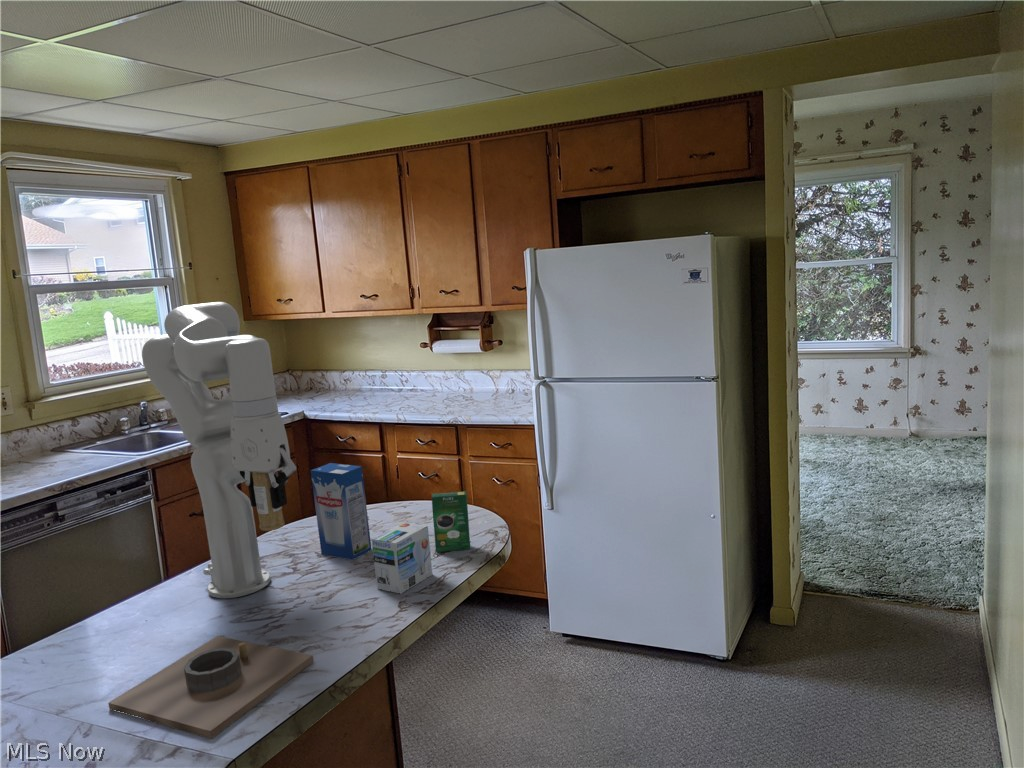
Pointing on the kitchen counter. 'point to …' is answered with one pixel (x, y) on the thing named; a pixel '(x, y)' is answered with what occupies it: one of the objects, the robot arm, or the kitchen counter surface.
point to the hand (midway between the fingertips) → (269, 504)
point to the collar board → (211, 704)
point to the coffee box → (451, 521)
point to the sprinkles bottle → (266, 503)
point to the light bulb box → (402, 557)
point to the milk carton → (341, 510)
